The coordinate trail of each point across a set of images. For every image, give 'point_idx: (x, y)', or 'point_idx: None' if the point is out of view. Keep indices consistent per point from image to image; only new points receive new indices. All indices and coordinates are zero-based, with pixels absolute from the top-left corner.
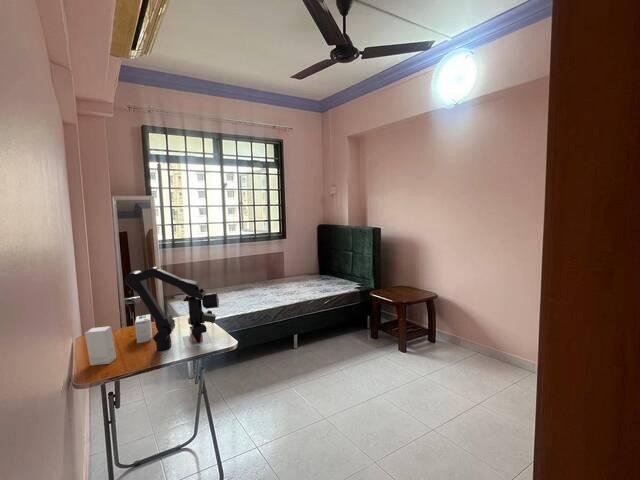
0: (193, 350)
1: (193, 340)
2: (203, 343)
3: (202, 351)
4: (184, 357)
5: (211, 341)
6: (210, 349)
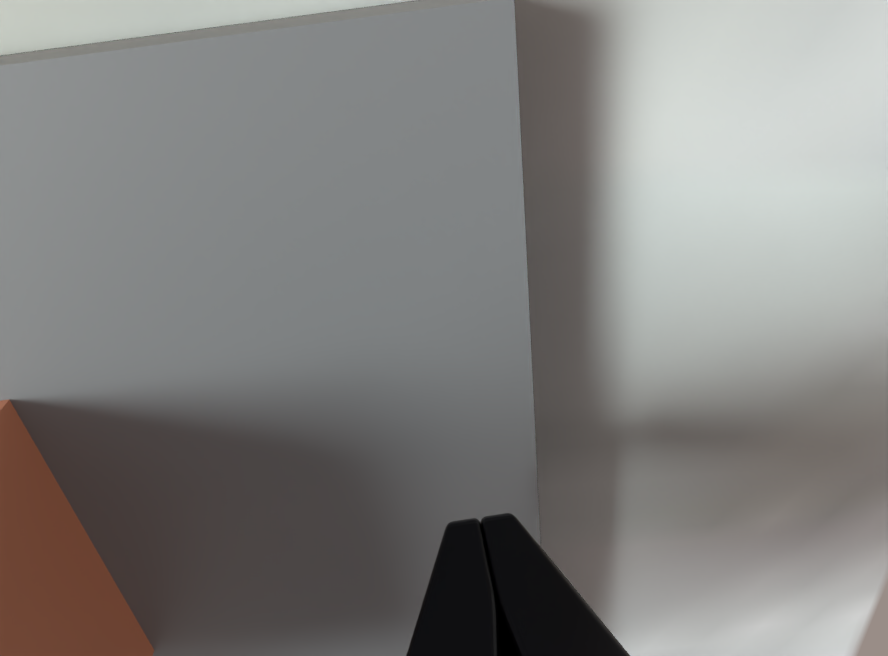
0: (617, 519)
1: (125, 650)
2: (453, 360)
3: (846, 327)
4: (869, 615)
5: (375, 47)
6: (885, 94)
